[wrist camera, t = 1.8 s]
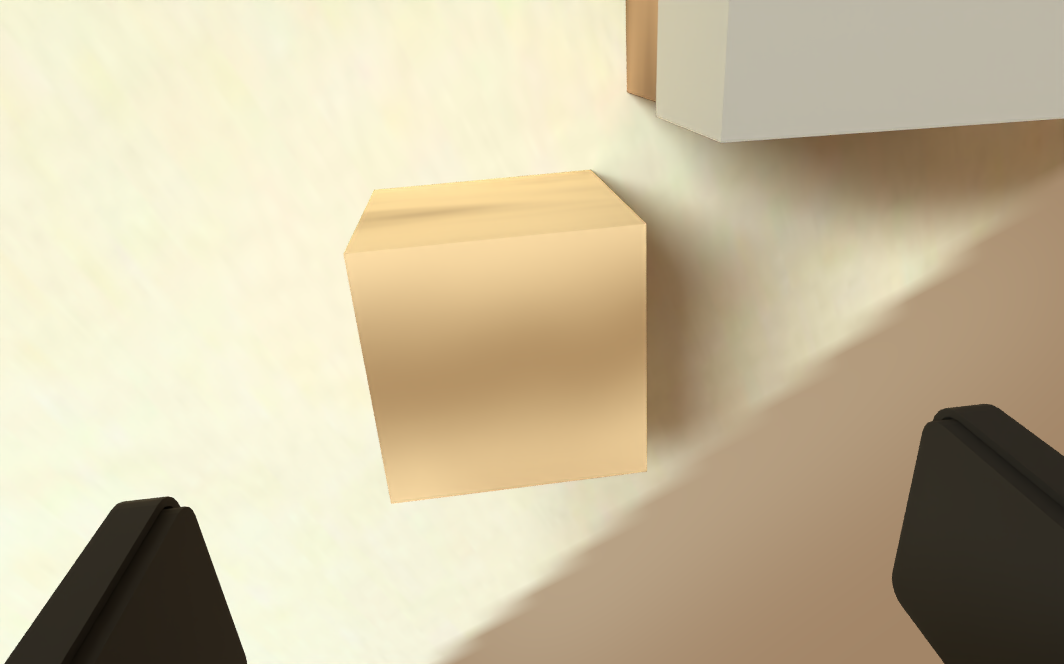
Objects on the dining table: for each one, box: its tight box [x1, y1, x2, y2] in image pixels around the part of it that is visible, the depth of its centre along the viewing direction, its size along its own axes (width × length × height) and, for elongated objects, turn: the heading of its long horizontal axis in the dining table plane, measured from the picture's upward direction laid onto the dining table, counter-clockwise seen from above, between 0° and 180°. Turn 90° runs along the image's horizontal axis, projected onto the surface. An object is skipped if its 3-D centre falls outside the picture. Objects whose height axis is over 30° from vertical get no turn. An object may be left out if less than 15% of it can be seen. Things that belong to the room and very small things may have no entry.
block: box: [344, 170, 647, 504], centre depth 17 cm, size 6×6×6 cm
